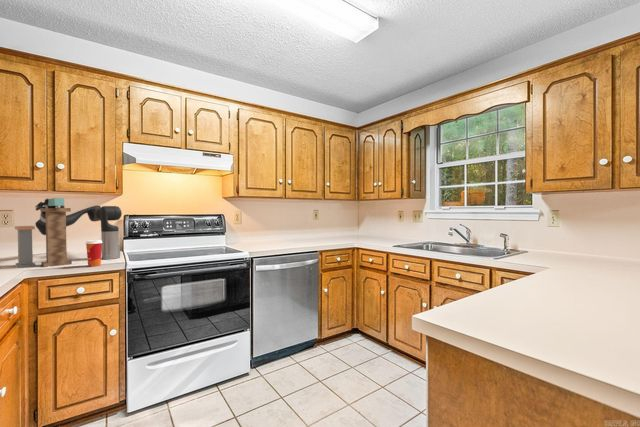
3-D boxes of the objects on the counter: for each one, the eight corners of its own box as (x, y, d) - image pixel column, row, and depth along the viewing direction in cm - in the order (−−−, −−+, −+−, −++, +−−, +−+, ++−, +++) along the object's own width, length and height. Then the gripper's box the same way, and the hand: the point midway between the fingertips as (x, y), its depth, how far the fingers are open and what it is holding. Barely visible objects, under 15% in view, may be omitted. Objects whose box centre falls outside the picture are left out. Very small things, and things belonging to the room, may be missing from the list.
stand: (68, 262, 185) (67, 208, 184) (71, 264, 180) (70, 208, 179) (41, 265, 176) (40, 208, 175) (43, 267, 171) (42, 208, 170)
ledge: (32, 263, 182) (31, 225, 182) (35, 266, 174) (34, 226, 174) (15, 265, 177) (14, 226, 176) (18, 267, 169) (17, 227, 168)
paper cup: (88, 265, 176) (87, 240, 176) (104, 264, 179) (104, 239, 178) (83, 267, 169) (83, 241, 168) (100, 266, 171) (100, 240, 171)
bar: (55, 205, 187) (55, 199, 187) (64, 205, 171) (64, 198, 171) (46, 205, 184) (46, 199, 184) (54, 205, 168) (54, 198, 168)
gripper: (32, 209, 188) (35, 194, 178) (62, 209, 199) (67, 194, 189) (33, 220, 186) (37, 205, 176) (64, 219, 196) (69, 205, 186)
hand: (52, 199), depth 182 cm, fingers closed on bar, 4 cm apart
